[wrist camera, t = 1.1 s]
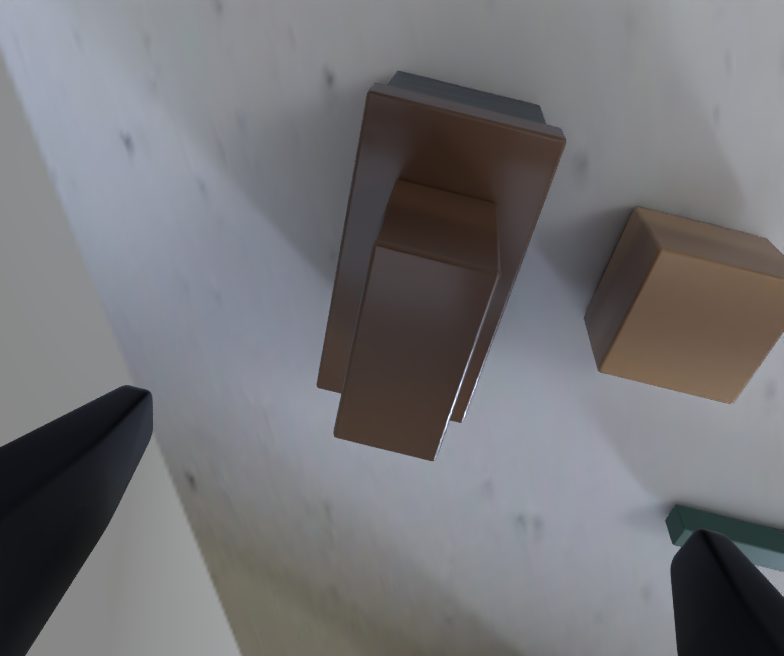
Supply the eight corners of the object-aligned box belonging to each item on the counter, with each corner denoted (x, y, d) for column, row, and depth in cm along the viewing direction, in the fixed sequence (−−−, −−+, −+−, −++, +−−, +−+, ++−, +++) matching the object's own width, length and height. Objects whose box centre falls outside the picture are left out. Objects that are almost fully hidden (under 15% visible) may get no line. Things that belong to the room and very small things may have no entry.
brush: (466, 347, 21) (458, 521, 14) (342, 317, 21) (281, 478, 14) (550, 99, 16) (593, 197, 10) (391, 60, 16) (331, 132, 10)
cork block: (701, 346, 19) (733, 406, 17) (582, 317, 19) (597, 372, 17) (768, 237, 17) (817, 287, 15) (634, 204, 17) (660, 248, 15)
